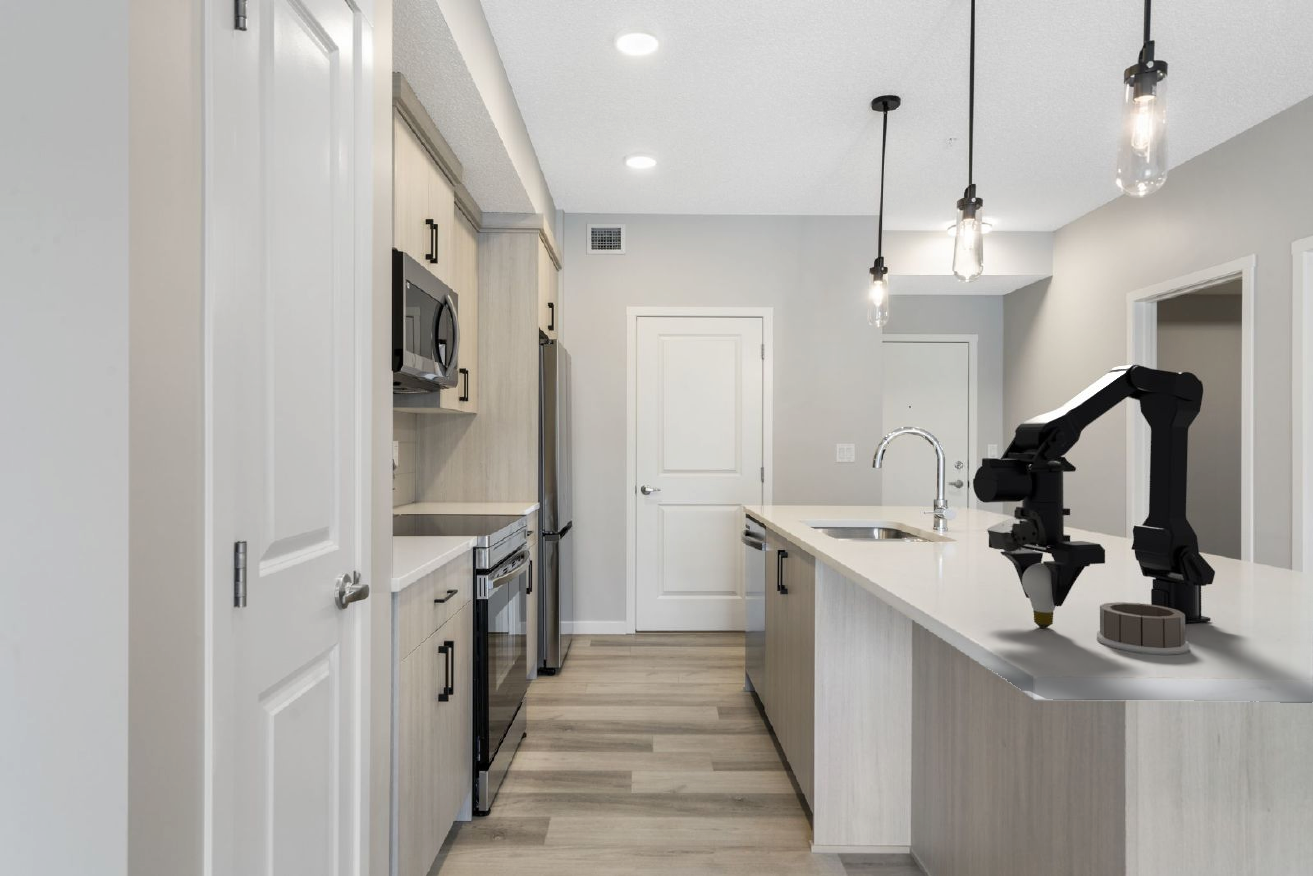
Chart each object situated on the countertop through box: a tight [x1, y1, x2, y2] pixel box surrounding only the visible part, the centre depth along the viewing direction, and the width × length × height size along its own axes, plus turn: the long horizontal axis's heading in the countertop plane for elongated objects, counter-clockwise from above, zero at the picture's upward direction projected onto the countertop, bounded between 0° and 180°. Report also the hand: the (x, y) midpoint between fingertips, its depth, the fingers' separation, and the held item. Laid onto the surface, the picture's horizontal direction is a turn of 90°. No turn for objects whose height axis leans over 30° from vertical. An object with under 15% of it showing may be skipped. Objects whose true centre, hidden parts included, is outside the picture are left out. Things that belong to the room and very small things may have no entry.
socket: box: [1096, 601, 1190, 656], centre depth 106 cm, size 11×11×5 cm
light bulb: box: [1021, 562, 1057, 629], centre depth 116 cm, size 6×6×10 cm
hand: (1043, 601), depth 116 cm, fingers closed on light bulb, 6 cm apart
